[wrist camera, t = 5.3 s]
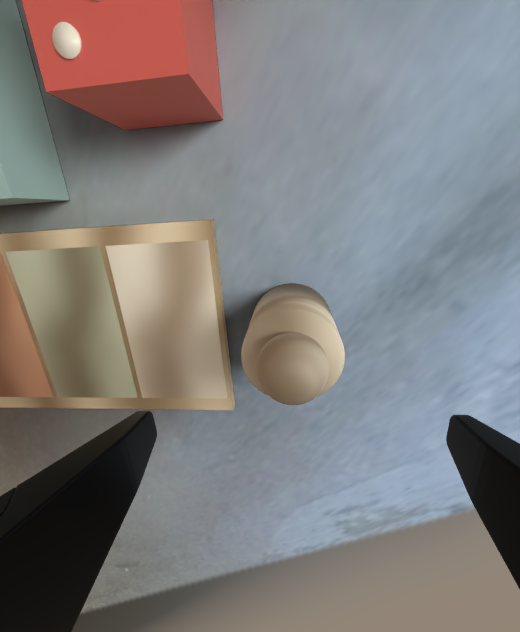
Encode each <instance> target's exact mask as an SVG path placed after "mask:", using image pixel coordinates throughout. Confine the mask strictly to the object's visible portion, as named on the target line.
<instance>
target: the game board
mask: <svg viewBox="0 0 520 632" xmlns="http://www.w3.org/2000/svg"><path fill="white" fill-rule="evenodd" d="M234 406H235V401H234V393H233V384H232V375H231V366H230V357H229V348H228V339H227V331H226V322H225V313H224V304H223V295H222V286H221V277H220V268H219V260H218V251H217V242H216V233H215V224H214V220H199V221H184V222H169V223H154V224H139V225H123V226H108V227H93V228H78V229H63V230H47V231H32V232H17V233H2V234H0V407H5V408H89V409H174V410H233V409H234Z"/></svg>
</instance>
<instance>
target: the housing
mask: <svg viewBox="0 0 520 632" xmlns="http://www.w3.org/2000/svg"><path fill="white" fill-rule="evenodd" d="M67 200H70V199H69V196H68V192H67V188H66V185H65V181H64V177H63V174H62V170H61V166H60V163H59V159H58V155H57V152H56V148H55V144H54V140H53V137H52V133H51V129H50V126H49V122H48V118H47V115H46V111H45V107H44V104H43V100H42V96H41V93H40V89H39V85H38V82H37V78H36V74H35V70H34V67H33V63H32V59H31V56H30V52H29V48H28V45H27V41H26V37H25V34H24V30H23V26H22V23H21V19H20V15H19V11H18V8H17V4H16V0H0V206H3V205H15V204H28V203H41V202H54V201H67Z"/></svg>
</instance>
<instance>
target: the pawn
mask: <svg viewBox="0 0 520 632" xmlns="http://www.w3.org/2000/svg"><path fill="white" fill-rule="evenodd" d="M241 360H242V365H243V369H244V371H245V373H246V375H247V377H248V379H249V380H250V381H251V383H252V384H253V385H254V386H255V387H256V388H257V389H259V390H260V391H261V392H263V393H264V394H266V395H268V396H270V397H271V398H273V399H274V400H276V401H278V402H280V403H283V404H287V405H300V404H304V403H306V402H309V401H311V400H312V399H314V398H315V397H317V396H319V395H321V394H323V393H324V392H326V391H327V390H328V389H330V388H331V387H332V386H333V385H334V383H335V382H336V381H337V380H338V378H339V376H340V375H341V372H342V370H343V366H344V361H345V351H344V346H343V343H342V340H341V337H340V335H339V332H338V330H337V327H336V325H335V322H334V320H333V317H332V315H331V312H330V310H329V307H328V305H327V303H326V301H325V300H324V298H323V297H322V296H321V295H320V294H319V293H318V292H316V291H315V290H313V289H312V288H310V287H308V286H305V285H301V284H293V283H290V284H283V285H279V286H276V287H274V288H272V289H270V290H269V291H268V292H266V293H265V294H264V295H263V296H262V297H261V298H260V300H259V301H258V303H257V305H256V307H255V310H254V313H253V316H252V318H251V321H250V324H249V327H248V330H247V333H246V336H245V338H244V341H243V345H242V350H241Z"/></svg>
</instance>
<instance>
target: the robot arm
mask: <svg viewBox="0 0 520 632" xmlns="http://www.w3.org/2000/svg"><path fill="white" fill-rule="evenodd" d="M156 437H157V430H156V426H155V422H154V417H153V414H152V412H150V411H137V412H136V413H134V414H132V415H131V416H129V417H128V418H126V419H124V420H123V421H121V422H119V423H118V424H116V425H115V426H113V427H111V428H110V429H108V430H107V431H105V432H103V433H102V434H100V435H99V436H97V437H95V438H94V439H92V440H90V441H89V442H87V443H86V444H84V445H82V446H81V447H79V448H78V449H76V450H74V451H73V452H71V453H69V454H68V455H66V456H65V457H63V458H61V459H60V460H58V461H57V462H55V463H53V464H52V465H50V466H48V467H47V468H45V469H44V470H42V471H40V472H39V473H37V474H36V475H34V476H32V477H31V478H29V479H28V480H26V481H24V482H23V483H21V484H19V485H18V486H17V487H16V488H13V489H11V490H10V491H8V492H6V493H5V494H3V495H2V496H0V632H72V630H73V627H74V625H75V623H76V621H77V619H78V617H79V615H80V612H81V610H82V608H83V606H84V604H85V602H86V600H87V597H88V595H89V593H90V591H91V589H92V587H93V585H94V582H95V580H96V578H97V576H98V574H99V572H100V570H101V567H102V565H103V563H104V561H105V559H106V557H107V555H108V552H109V550H110V548H111V546H112V544H113V542H114V540H115V537H116V535H117V533H118V531H119V529H120V527H121V525H122V522H123V520H124V518H125V516H126V514H127V512H128V510H129V507H130V505H131V503H132V501H133V499H134V497H135V495H136V492H137V490H138V488H139V485H140V483H141V480H142V477H143V475H144V472H145V469H146V466H147V463H148V461H149V458H150V455H151V452H152V449H153V446H154V444H155V441H156ZM446 440H447V445H448V448H449V450H450V453H451V455H452V457H453V460H454V462H455V464H456V467H457V469H458V471H459V474H460V476H461V478H462V480H463V483H464V485H465V487H466V490H467V492H468V494H469V496H470V499H471V501H472V503H473V505H474V507H475V508H476V510H477V512H478V514H479V516H480V518H481V519H482V521H483V523H484V525H485V527H486V529H487V530H488V532H489V534H490V536H491V538H492V540H493V541H494V543H495V545H496V547H497V549H498V551H499V552H500V554H501V556H502V558H503V560H504V561H505V563H506V565H507V567H508V569H509V570H510V572H511V574H512V576H513V578H514V580H515V582H516V583H517V585H518V587H519V589H520V444H519V443H517V442H516V441H514V440H512V439H510V438H509V437H507V436H505V435H503V434H501V433H500V432H498V431H496V430H494V429H493V428H491V427H489V426H487V425H485V424H484V423H482V422H480V421H478V420H477V419H475V418H473V417H471V416H469V415H453V416H452V417H451V418H450V422H449V427H448V432H447V438H446Z"/></svg>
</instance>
